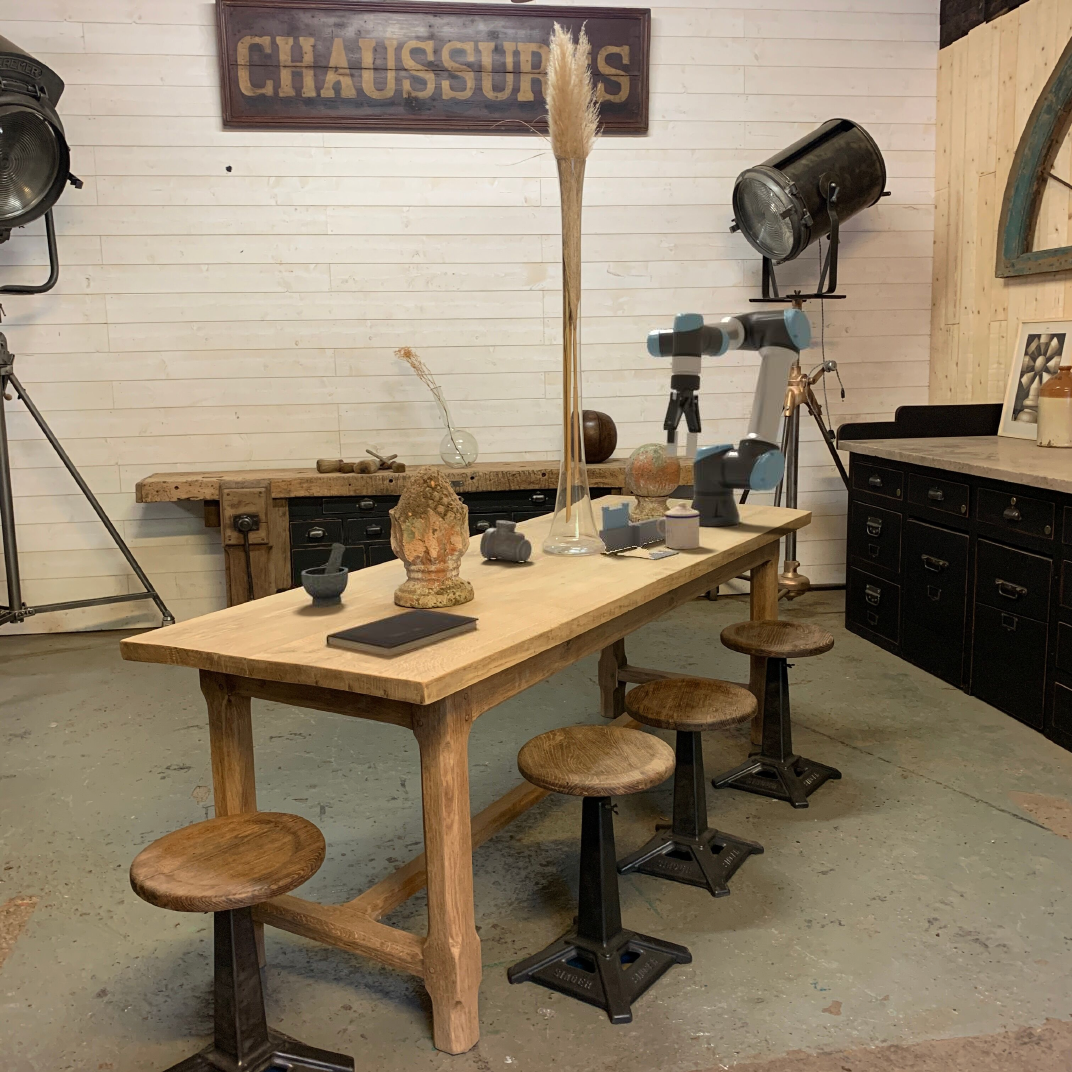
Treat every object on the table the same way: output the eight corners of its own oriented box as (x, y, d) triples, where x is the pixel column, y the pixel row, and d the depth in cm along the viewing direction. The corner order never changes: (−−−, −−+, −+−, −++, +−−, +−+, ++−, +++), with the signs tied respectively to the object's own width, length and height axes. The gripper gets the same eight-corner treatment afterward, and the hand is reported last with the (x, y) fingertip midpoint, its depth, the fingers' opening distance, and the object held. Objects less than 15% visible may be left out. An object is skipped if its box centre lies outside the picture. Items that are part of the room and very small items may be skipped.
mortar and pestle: (329, 610, 210) (325, 552, 208) (293, 606, 214) (289, 549, 212) (363, 598, 220) (360, 542, 218) (328, 595, 224) (324, 540, 222)
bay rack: (660, 538, 283) (660, 516, 282) (713, 543, 272) (713, 521, 271) (599, 553, 263) (599, 530, 262) (654, 560, 252) (654, 535, 251)
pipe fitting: (476, 559, 257) (480, 519, 256) (496, 557, 264) (500, 517, 262) (514, 569, 251) (519, 528, 249) (534, 566, 257) (538, 526, 256)
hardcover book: (479, 630, 192) (478, 618, 192) (390, 660, 174) (389, 646, 174) (416, 619, 202) (416, 608, 201) (326, 646, 184) (325, 634, 183)
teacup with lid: (706, 545, 270) (706, 501, 268) (690, 551, 263) (689, 505, 261) (665, 542, 277) (665, 499, 275) (648, 547, 270) (648, 503, 268)
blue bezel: (625, 525, 270) (625, 502, 269) (629, 525, 269) (629, 502, 268) (602, 530, 262) (601, 506, 261) (605, 530, 261) (605, 507, 260)
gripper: (689, 378, 279) (685, 457, 281) (653, 370, 258) (648, 455, 259) (716, 378, 275) (711, 458, 277) (681, 370, 254) (676, 456, 256)
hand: (681, 457), depth 268 cm, fingers open, 13 cm apart
